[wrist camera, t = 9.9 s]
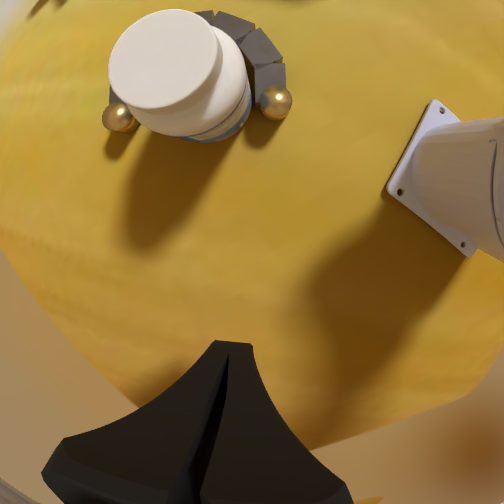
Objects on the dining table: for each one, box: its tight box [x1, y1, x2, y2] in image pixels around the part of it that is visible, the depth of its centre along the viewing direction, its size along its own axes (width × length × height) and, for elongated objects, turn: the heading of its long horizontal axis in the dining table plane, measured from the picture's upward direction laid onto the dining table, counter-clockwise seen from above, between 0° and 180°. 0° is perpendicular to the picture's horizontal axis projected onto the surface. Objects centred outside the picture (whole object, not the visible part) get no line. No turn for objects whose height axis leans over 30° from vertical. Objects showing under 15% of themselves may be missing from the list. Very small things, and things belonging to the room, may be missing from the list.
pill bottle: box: [108, 9, 252, 143], centre depth 12 cm, size 6×5×10 cm
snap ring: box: [102, 10, 292, 133], centre depth 15 cm, size 8×12×2 cm, turn 91°
